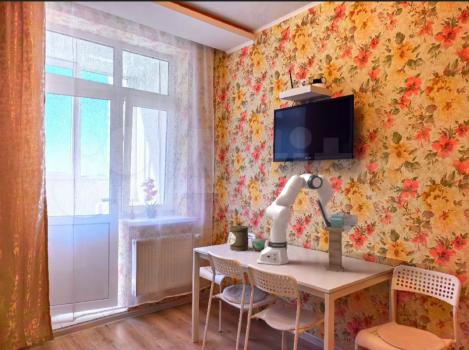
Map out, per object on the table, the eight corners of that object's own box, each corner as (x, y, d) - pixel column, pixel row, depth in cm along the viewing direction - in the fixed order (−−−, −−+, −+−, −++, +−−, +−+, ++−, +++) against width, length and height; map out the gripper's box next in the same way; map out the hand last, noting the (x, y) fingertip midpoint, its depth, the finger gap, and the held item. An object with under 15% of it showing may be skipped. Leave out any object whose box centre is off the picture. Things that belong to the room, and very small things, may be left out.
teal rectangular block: (337, 216, 231) (336, 206, 229) (347, 216, 228) (346, 207, 226) (331, 229, 215) (330, 219, 213) (342, 229, 211) (341, 219, 209)
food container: (253, 252, 256) (253, 239, 256) (251, 251, 262) (250, 238, 262) (268, 251, 259) (268, 238, 259) (265, 250, 265) (265, 237, 265)
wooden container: (229, 247, 276) (229, 221, 276) (247, 246, 277) (246, 220, 277) (231, 251, 261) (230, 223, 261) (249, 250, 262) (249, 223, 262)
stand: (328, 267, 214) (328, 227, 215) (344, 269, 210) (344, 228, 210) (326, 269, 208) (326, 228, 208) (342, 271, 204) (342, 229, 204)
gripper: (330, 216, 244) (326, 208, 233) (359, 218, 234) (356, 210, 223) (329, 224, 241) (325, 217, 230) (358, 226, 231) (356, 218, 221)
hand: (341, 213), depth 227 cm, fingers closed on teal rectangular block, 4 cm apart
